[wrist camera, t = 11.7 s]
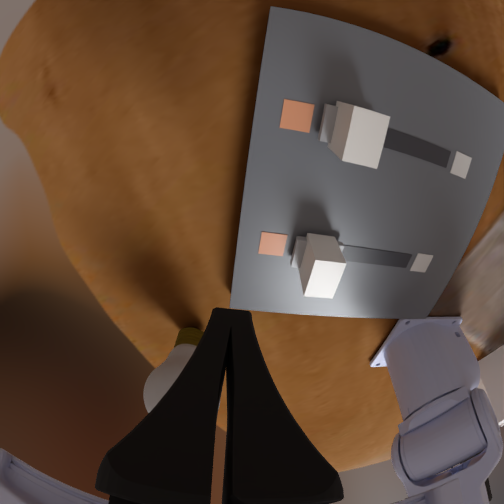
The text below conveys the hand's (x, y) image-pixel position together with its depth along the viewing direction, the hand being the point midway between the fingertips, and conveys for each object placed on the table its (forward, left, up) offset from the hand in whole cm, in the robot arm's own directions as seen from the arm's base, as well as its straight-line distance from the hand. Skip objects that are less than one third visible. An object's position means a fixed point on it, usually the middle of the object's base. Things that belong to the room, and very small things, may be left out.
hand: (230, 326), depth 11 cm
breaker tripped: (-5, -7, -8) cm, 11 cm away
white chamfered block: (-47, +20, -10) cm, 52 cm away
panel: (-9, -3, -9) cm, 13 cm away
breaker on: (-5, +1, -8) cm, 9 cm away
